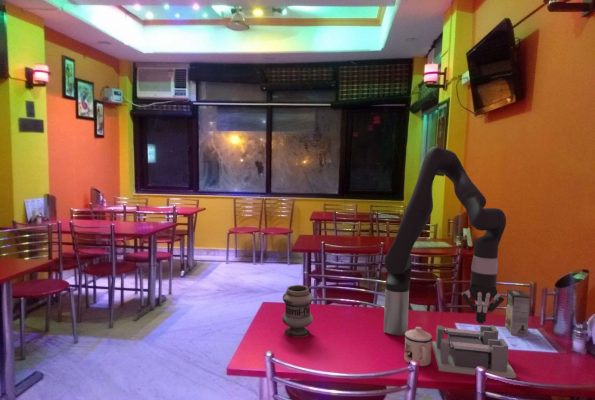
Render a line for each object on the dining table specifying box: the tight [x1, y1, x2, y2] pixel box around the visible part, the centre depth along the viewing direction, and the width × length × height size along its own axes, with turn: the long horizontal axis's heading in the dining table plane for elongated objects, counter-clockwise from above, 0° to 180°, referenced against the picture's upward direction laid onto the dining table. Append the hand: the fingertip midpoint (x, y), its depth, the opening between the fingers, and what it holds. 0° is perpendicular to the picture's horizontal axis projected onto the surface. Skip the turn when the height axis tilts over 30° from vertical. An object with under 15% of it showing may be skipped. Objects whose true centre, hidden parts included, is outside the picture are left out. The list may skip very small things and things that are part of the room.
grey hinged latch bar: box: [443, 326, 483, 338], centre depth 149 cm, size 16×3×2 cm, turn 78°
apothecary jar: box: [281, 284, 314, 338], centre depth 165 cm, size 12×12×18 cm
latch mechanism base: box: [431, 324, 517, 379], centre depth 143 cm, size 23×20×10 cm
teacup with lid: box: [404, 326, 433, 367], centre depth 141 cm, size 12×9×12 cm
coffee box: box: [504, 289, 531, 337], centre depth 170 cm, size 9×6×16 cm
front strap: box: [448, 341, 492, 352], centre depth 137 cm, size 16×3×2 cm, turn 78°
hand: (480, 322), depth 136 cm, fingers closed
